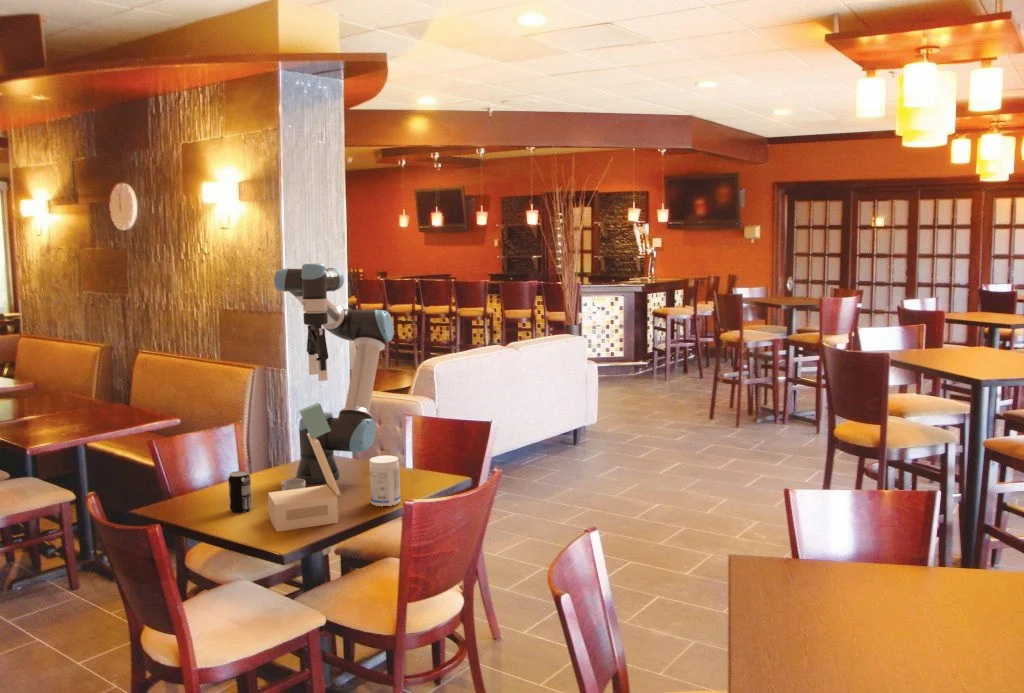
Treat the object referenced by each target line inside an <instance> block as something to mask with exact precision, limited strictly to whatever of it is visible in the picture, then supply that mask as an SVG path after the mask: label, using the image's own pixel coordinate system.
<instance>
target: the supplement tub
mask: <svg viewBox="0 0 1024 693" xmlns="http://www.w3.org/2000/svg"><path fill="white" fill-rule="evenodd" d="M368 461H369V463H368V464H369V466H368V472H369V488H370V493H369V494H370V503H371V505H373V506H374V505H375V507H378V506H379V508H382V507H383V506H389V507H393V506H396V505H398V504H399V503H400V502H401V482H400V481H401V480H400V479H401V478H400V477H401V476H400V462H399V457H398V456H395V455H385V454H384V455H378V456H373V457H371V458H369V460H368ZM392 505H393V506H392ZM380 506H381V507H380ZM383 508H384V507H383Z"/></svg>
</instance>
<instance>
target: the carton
mask: <svg viewBox="0 0 1024 693" xmlns="http://www.w3.org/2000/svg"><path fill="white" fill-rule="evenodd" d="M267 497H268V499H267V501H268V502H267V503H268V519H269V521H271V524H272V525H273V527H274V529H275V531H276V532H284V531H285V532H286V531H291V530H292V531H293V530H298V529H305V528H311V527H317V526H324V525H331V524H338V523H339V512H338V509H339V508H338V496H337V495H336V493H335V492H334V491H333V490H332V489H331V488H330V487H329V486H328V484H324V485H316V486H310V487H309V486H308V487H305V488H300V489H292V490H284V491H281V490H278V491H271V492H270V491H269V492H267Z"/></svg>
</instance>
